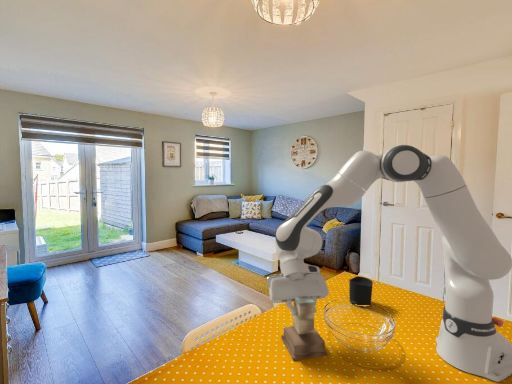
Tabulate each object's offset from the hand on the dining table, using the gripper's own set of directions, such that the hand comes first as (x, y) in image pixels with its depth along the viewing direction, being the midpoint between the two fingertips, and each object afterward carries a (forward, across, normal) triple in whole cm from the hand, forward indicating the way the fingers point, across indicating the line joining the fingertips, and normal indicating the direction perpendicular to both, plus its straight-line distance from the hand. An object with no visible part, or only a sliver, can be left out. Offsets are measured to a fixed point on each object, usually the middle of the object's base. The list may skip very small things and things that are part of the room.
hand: (304, 314), depth 85 cm
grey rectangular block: (+3, 0, +4) cm, 5 cm away
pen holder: (-8, +36, +24) cm, 44 cm away
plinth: (+8, 0, +8) cm, 11 cm away
